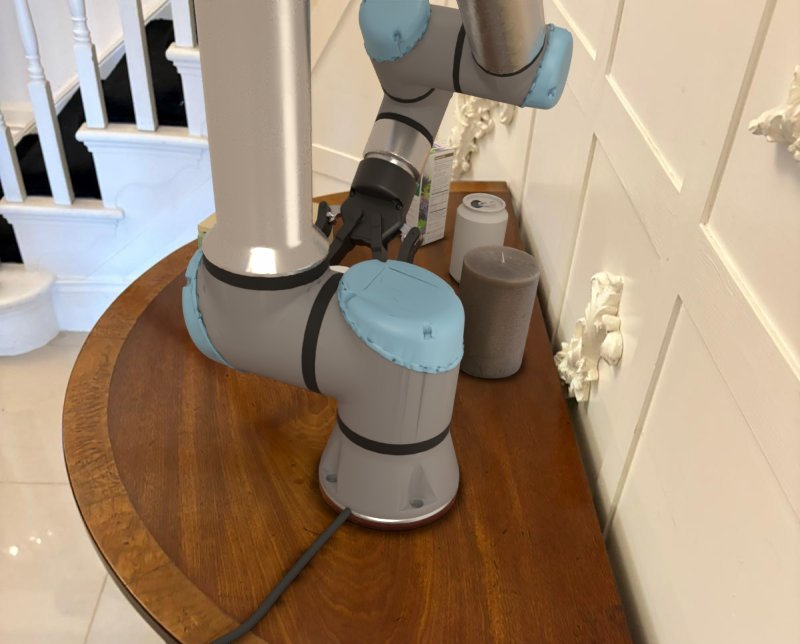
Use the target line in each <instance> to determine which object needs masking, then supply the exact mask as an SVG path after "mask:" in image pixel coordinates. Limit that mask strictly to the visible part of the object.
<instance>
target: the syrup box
mask: <svg viewBox="0 0 800 644" xmlns="http://www.w3.org/2000/svg"><path fill="white" fill-rule="evenodd" d="M455 149H456V148H455V147H453V146H450V145H447V144H445V143H443V142H440V141H439V140H436V139H435V140H434V143H433V146H432V149H431V151H430V154H429V157H428V160H427V162H426V165H425V168H424V170H423V173H422V176H421V179H420V180H419V181H418V182H416V184H417V190H416V192H415V195H414V198H413V200H412V203H411V206H410V209H409V211H408V213H407V215H406V224H407V225H409V226H411V227H418V228H419V230H420V232H421V234H422V236H423V238H424V241H423V243H422V245H421V246H420V247H422V246H425V245H427V244H430V243H433V242H436V241H438V240H441V239H443V238H444V236H445V229H446V222H447V221H446V220H447V213H448V206H449V205H448V204H449V197H450V188H451V182H452V173H453V166H454V158H455ZM399 236H402V234H400V235H399Z"/></svg>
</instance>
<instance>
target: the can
mask: <svg viewBox="0 0 800 644" xmlns="http://www.w3.org/2000/svg"><path fill="white" fill-rule="evenodd" d="M506 206H507V204H506V202H505V200H503V199H502V198H500V197H499V196H497V195H494V194H490V193H484V192H483V193H482V192H477V193H470V194H467V195H465V196H464V197H463V198H462V203H461V204H459V205H458V207H457V208H456V214H455V223H454V230H453V238H452V247H451V255H450V264H449V274H450V275H451V277H452V278H453V279H454V280H455V281H456V282H457V283H458V284H460V278H461V272H462V266H463V259H464V256H465V254H466V252H467V251H469V250H471V249H473V248H476V247H480V246H491V245H500V246H504V244H505V237H506V231H507V226H508V220H509V213H508V211H507V209H506Z"/></svg>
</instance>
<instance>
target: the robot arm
mask: <svg viewBox="0 0 800 644" xmlns="http://www.w3.org/2000/svg"><path fill="white" fill-rule="evenodd" d="M193 2H194V3H193V4H194V13H195V22H196V32H197V33H196V34H197V44H198V52H199V64H200V70H201V83H202V91H203V102H204V113H205V121H206V131H207V142H208V151H209V162H210V170H211V171H210V172H211V179H212V180H211V181H212V191H213V202H214V212H216V222H217V223H216V224H215V225H214V226H213V227H212V228H211V229H210V230H209V231H208V232H207V233H206V234H205V235H204V237H203V240H202V246H201V247H200V248H199V247H198V249H196V251H195V252H194V254H193V255H192V257H191V259H190V260H189V261H188V265H187V267H186V270H185V274H184V277H185V279H186V282H187V283H186V285H185V286H183V287H182V290H181V291H182V292H181V307H182V313H183V320H184V324H185V326H186V331H187V332H188V334H189V337H190V339H191V341H192V342H193V344H194V346H195V347H196V348H197V350H199V351H200V352H201V353H202V354H203V355H204V356H205V357H207V359H210V360H212V361H214V362H217V363H219V364H221V365H224V366H227V367H228V368H230V369H232V370H235V371H237V372H239V373H243V374H253V375H256V376H259V377H262V378H266V379H269V380H272V381H275V382H279V383H282V384H285V385H289V386H293V387H296V388H300V389H303V390H305V391H309V392H312V393H316V394H319V395H322V396H326V397H329V398H332V399H334V400H336V421H335V423H334V426H333V429H332V431H331V432H330V436H329V438H328V440H327V442H326V445H325V447H324V450H323V452H322V453H321V457H320V461H319V465H318V488H319V490H320V494H321V496H322V498H323V499H324V501H325V503H327V505H328V506H329V507H330V508H331V509H332V510H333V511H334V512H335V513H336V514H338V516H337V517H335V519H334V520H333V521H332V522H331V523H330V524H329V525H328V526H327V527H326V528H325V530H324V531H323V532H322V533H321V534H320V535H319V536H318V537H317V539H315V541H314V542H313V543H312V544H311V545H310V546H309V548H308V549H307V550H306V551H305V552H304V553H303V554H302V555H301V556H300V557H299V559H298V560H297V561H296V562H295V564H294V565H292V566H291V568H290V569H289V570H288V572H287V573H286V574H285V575H284V576H283V577H282V579H280V581H279V582H278V583H277V584H276V585H275V587H273V589H272V590H271V592H269V594H268V596H267V597H266V598H265V599H264V600H263V602H262V603H261V604H260V605H259V607H258V608H257V609H256V610H255V611H254V612H253V613H252V615H250V616H249V617H248V618H247V619H246V620H245V621H244V622H243V623H242V624H240V625H239V626H237V627H236V628H235V629H233V630H231V631H229V632H228V633H226V634H224V635H222V636H220V637H217V638H216V639H214V640H212V641H210V642H208V643H207V644H232V643H234V642H235V641H237V640H238V639H240V638H242V637H243V636H244V635H246V634H247V633H248V632H249V631H251V630H252V629H253V628H254V627H255V626H256V625H257V624H258V623H259V622H260V621H261V620H262V619H263V618H264V617H265V616H266V614H267V613H268V612H269V611H270V610H271V608H273V606H274V604H275V603H276V602H277V601H278V599H279V598H280V597H281V595H282V594H283V593H284V592H285V590H286V589H287V588H288V587H289V586H290V584H291V583H292V582H294V580H295V579H296V578H297V576H298V575H299V574H300V573H301V571H302V570H303V569H304V568H305V567H306V565H307V564H308V563H309V562H310V561H311V560H312V559H313V557H314V556H315V555H316V554H317V553H318V552H319V551H320V549H321V548H322V547H323V546H324V545H325V543H327V542H328V541H329V539H331V537H332V536H333V535H334V534H335V532H336V531H337V530H338V529H339V528H340V527H341V526H342V525H343V524H344V523H345V522H346V520H347V521H349V522H352V523H354V524H357V525H359V526H362V527H365V528H369V529H373V530H374V529H375V530H382V531H405V530H412V529H413V530H414V529H417V528H420V527H421V528H422V527H424V526H427V525H429V524H431V523H433V522H435V521H437V520H438V519H440V518H441V517H443V516H444V515H445V514H447V512H448V511H449V510H450V509H451V508H452V507H453V505H454V503H455V501H456V499H457V496H458V492H459V484H460V469H459V463H458V458H457V455H456V450H455V447H454V443H453V440H452V439H453V438H452V434H451V425H452V417H453V412H454V404H455V399H456V392H457V385H458V379H459V374H460V369H459V367H460V361H461V359H462V357H463V353H464V351H463V348H464V344H463V341H464V339H463V333H464V322H465V314H464V309H463V305H462V303H461V301H460V299H459V297H458V294H456V292H455V290H454V288H453V287H452V286H451V285H450V284H449V283H448V282H447V281H445V280H444V279H443V278H441V277H440V276H438V275H437V274H435V273H434V272H432V271H430V270H428V269H426V268H423V267H421V266H418V265H416V264H414V261H415V256H416V254H417V253H418V251H419V250H420V248H421V247H422V246H423V245H422V243H423V241H424V238H423V236H422V234H421V232H420V230H419V228H418V227H411V226H409V225H407V224H406V215H407V213H408V211H409V209H410V206H411V203H412V200H413V198H414V195H415V192H416V190H417V184H416V182H418V181H419V180H420V179H421V176H422V173H423V170H424V168H425V165H426V162H427V160H428V157H429V154H430V151H431V149H432V146H433V143H434V140H436V138H437V135H438V132H439V130H440V127H441V125H442V123H443V119H444V117H445V114H446V112H447V109H448V106H449V104H450V101H451V99H453V96H454V93H457V94H462V95H464V96H465V95H466V96H470V97H475V98H479V99H484V100H489V101H493V102H498V103H503V104H507V105H512V106H516V107H518V108H520V109H523V108H532V109H538V110H545V111H547V110H551V109H552V108H554V107H556V106H557V104H558V103H559V101H560V99H561V98H562V96H563V93H564V91H565V87H566V84H567V80H568V77H569V73H570V70H571V64H572V58H573V53H574V52H573V51H574V37H573V34H572V33H571V31H569V30H568V29H567V28H564V27H561V26H556V25H555V24H554V23H551V22H550V23H546V20H545V19H546V17H545V9H544V0H456V4H457V7H458V8H455V7H450V6H445V5H439V4H433V3H430V0H361V1H360V4H359V9H358V25H359V29H360V32H361V36H362V39H363V46H364V50H365V53H366V54H367V56H368V58H369V60H370V62H371V65H372V67H373V70H374V73H375V75H376V77H377V80H378V82H379V85H380V88H381V90H382V93H383V97H382V100H381V102H380V106H379V109H378V112H377V115H376V117H375V120H374V123H373V125H372V128H371V130H370V134H369V136H368V138H367V141H366V144H365V146H364V149H363V151H362V158H363V159H361V160H359V163H358V165H357V168H356V171H355V173H354V177H353V179H352V182H351V185H350V189H349V193H348V196H347V197H346V198H345V199H344V201H343V202H341V204H328V202H327V201H325V200H322V201H320V202H319V203H318V204H319V206H318V213H317V220H316V222H315V224H313V202H314V201H313V128H312V126H313V124H312V123H313V121H312V120H313V119H312V117H313V116H312V114H313V113H312V109H313V108H312V39H311V38H312V36H311V35H312V32H311V31H312V29H311V27H312V25H311V22H312V21H311V0H193ZM340 218H341V220H342V226H341V227H340V228H339V229H338V231H336V233H335V236H334V237H335V238H333V242H332V243H331V244H330V246H329V241H328V238H329V236H330V233H331V231H332V227H333V228H334V226H336V225H337V223H338V220H339V219H340ZM400 234H402V235H400ZM399 236H400V240H401V245H400V247H399V250H398V254H397V258H396V259H395V260H394V259H389V250H390V249H389V248H390V247H389V246H390V243H391V242H392V241H394V240H395V239H396V238H398V237H399ZM421 245H422V246H421ZM356 246H358V247H366V248H368V249H370V250H371V259H369V260H363V261H359V262H357V263H355V264H353V265H351V266H350V267H348V268H349V269H348V270H347V271H346V272H345V273H342V272H338V271H334V270H331V269H330V266H340V264H341V262H342V261H343V260H344V259H345V258H346V256H347V255H348V254H349V253H350V252H352V251H353V250H354V249H355V248H356Z"/></svg>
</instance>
